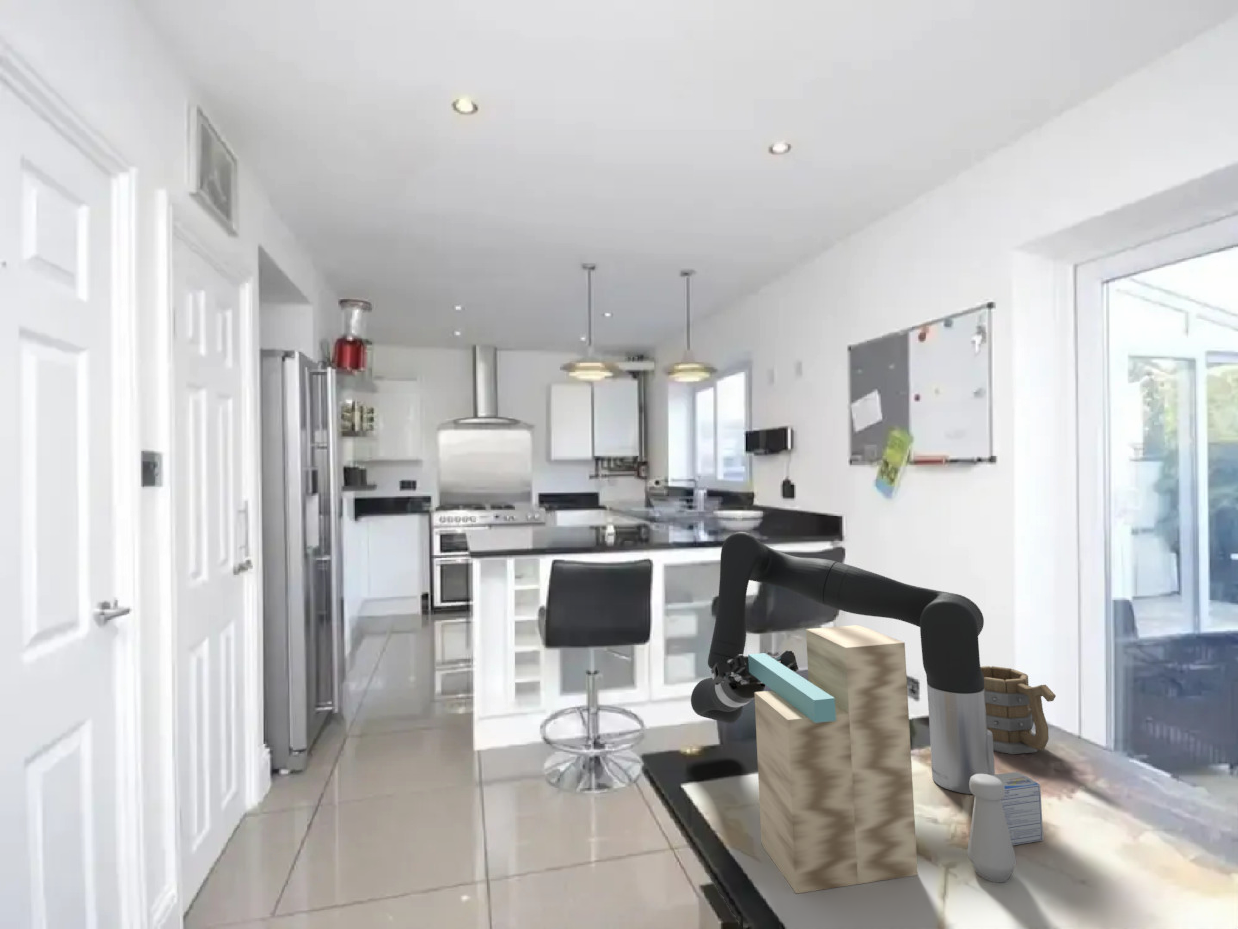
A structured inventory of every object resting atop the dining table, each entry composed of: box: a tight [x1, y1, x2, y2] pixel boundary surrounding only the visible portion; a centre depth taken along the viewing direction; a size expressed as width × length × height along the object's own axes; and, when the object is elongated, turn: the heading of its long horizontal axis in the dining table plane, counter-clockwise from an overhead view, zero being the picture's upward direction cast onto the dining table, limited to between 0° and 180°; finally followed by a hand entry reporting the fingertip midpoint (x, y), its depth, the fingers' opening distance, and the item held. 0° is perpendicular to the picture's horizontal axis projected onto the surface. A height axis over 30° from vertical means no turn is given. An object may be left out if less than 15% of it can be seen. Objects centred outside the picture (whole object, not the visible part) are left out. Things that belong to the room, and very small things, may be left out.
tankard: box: [980, 665, 1056, 755], centre depth 126 cm, size 20×13×15 cm, turn 6°
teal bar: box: [747, 652, 836, 723], centre depth 96 cm, size 3×24×3 cm, turn 10°
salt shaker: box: [966, 774, 1017, 883], centre depth 87 cm, size 6×6×13 cm
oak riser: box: [754, 624, 919, 894], centre depth 92 cm, size 18×12×32 cm, turn 100°
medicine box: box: [991, 771, 1044, 846], centre depth 95 cm, size 8×4×9 cm, turn 100°
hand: (767, 658), depth 103 cm, fingers open, 8 cm apart
